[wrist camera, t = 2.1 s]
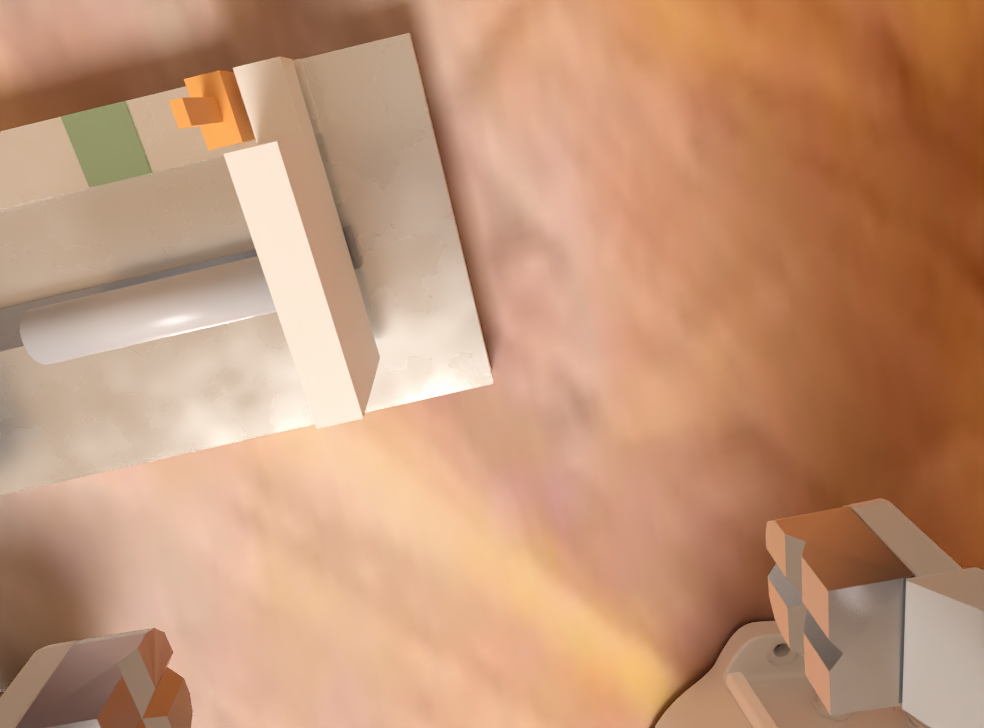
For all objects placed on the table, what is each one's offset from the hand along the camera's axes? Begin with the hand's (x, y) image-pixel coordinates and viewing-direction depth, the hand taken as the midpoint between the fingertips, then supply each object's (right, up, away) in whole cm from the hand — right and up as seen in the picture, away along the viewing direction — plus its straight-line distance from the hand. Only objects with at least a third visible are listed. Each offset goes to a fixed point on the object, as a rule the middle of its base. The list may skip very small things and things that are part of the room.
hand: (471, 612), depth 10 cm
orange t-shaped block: (-9, +13, +17) cm, 23 cm away
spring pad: (-11, +8, +18) cm, 23 cm away
